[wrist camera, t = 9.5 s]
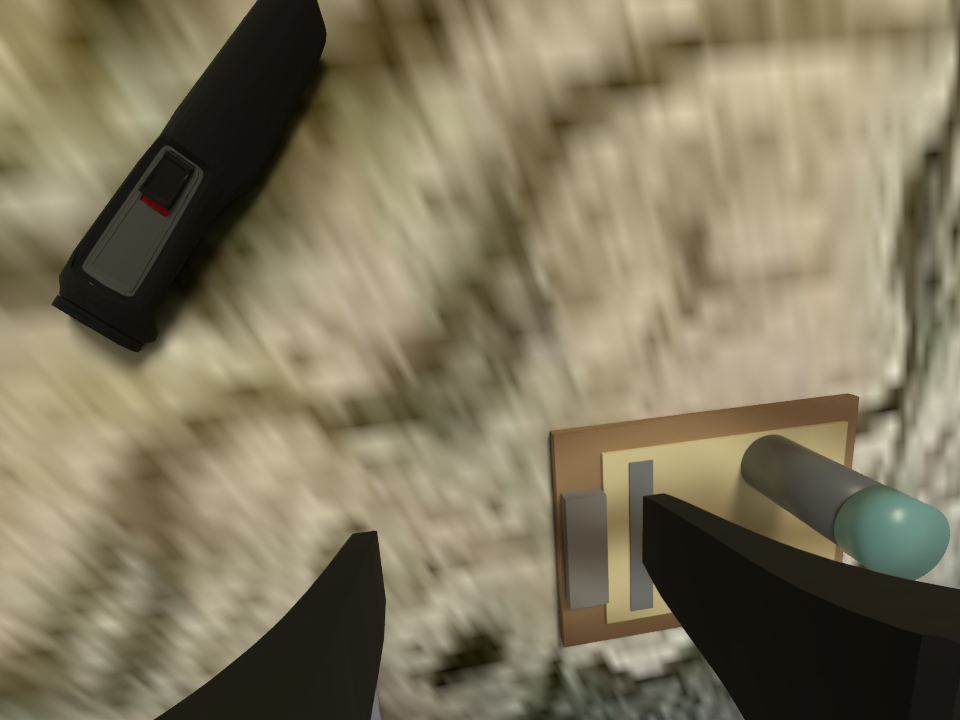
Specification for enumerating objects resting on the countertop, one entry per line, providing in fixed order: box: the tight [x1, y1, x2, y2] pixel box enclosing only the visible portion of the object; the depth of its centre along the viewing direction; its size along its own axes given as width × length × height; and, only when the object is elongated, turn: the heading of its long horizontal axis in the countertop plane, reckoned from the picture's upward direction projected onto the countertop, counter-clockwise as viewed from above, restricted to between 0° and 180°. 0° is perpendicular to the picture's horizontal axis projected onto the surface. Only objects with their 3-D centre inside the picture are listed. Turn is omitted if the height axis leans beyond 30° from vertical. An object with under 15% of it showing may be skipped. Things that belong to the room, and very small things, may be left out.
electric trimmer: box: [51, 0, 327, 352], centre depth 17 cm, size 4×15×3 cm, turn 142°
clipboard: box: [550, 394, 859, 647], centre depth 24 cm, size 12×16×1 cm
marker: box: [741, 434, 950, 580], centre depth 20 cm, size 3×3×7 cm
